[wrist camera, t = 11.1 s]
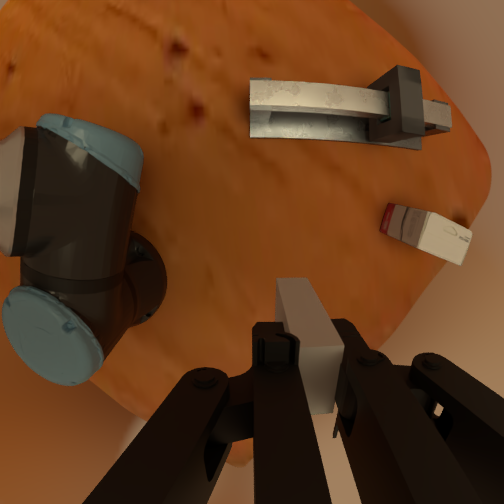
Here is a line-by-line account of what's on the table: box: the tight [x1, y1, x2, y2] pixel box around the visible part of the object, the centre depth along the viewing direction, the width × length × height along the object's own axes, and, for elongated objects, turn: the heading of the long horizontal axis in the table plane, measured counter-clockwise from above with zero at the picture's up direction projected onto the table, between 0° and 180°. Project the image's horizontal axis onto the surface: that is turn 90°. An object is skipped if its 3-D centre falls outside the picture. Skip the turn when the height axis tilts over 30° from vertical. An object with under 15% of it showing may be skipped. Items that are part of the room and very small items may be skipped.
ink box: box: [380, 203, 472, 266], centre depth 38 cm, size 9×5×12 cm, turn 73°
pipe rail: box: [250, 78, 452, 150], centre depth 35 cm, size 26×8×10 cm, turn 90°
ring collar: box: [367, 65, 425, 143], centre depth 32 cm, size 3×8×10 cm, turn 0°
